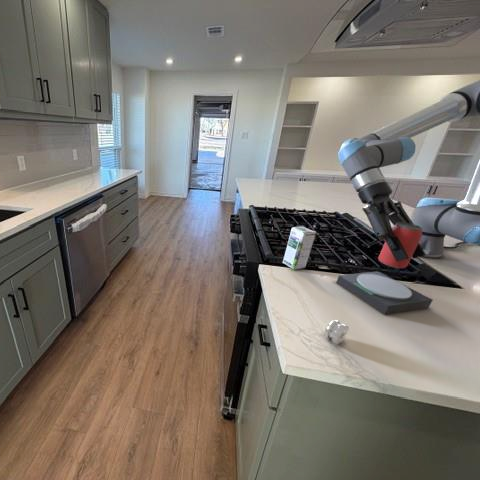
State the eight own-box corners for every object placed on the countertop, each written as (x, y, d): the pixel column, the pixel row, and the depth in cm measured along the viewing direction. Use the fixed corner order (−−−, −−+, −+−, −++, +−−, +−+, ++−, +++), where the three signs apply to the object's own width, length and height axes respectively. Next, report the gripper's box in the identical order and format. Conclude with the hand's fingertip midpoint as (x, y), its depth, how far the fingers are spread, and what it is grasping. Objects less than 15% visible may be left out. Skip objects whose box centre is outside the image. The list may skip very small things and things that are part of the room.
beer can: (412, 270, 71) (432, 231, 66) (385, 267, 72) (403, 228, 67) (397, 259, 77) (414, 222, 72) (372, 257, 78) (388, 220, 73)
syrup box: (281, 262, 96) (290, 227, 90) (294, 260, 98) (303, 225, 92) (293, 270, 91) (303, 233, 85) (306, 268, 93) (317, 231, 87)
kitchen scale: (374, 278, 87) (378, 269, 86) (428, 308, 73) (434, 298, 72) (336, 283, 84) (339, 273, 83) (384, 314, 70) (389, 304, 68)
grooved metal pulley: (333, 347, 58) (340, 331, 56) (320, 339, 61) (326, 323, 59) (344, 339, 61) (351, 323, 59) (331, 331, 63) (337, 315, 61)
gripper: (380, 192, 84) (417, 258, 76) (337, 195, 78) (373, 266, 70) (405, 179, 77) (449, 249, 70) (361, 181, 71) (403, 258, 64)
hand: (411, 258), depth 70 cm, fingers closed on beer can, 6 cm apart
